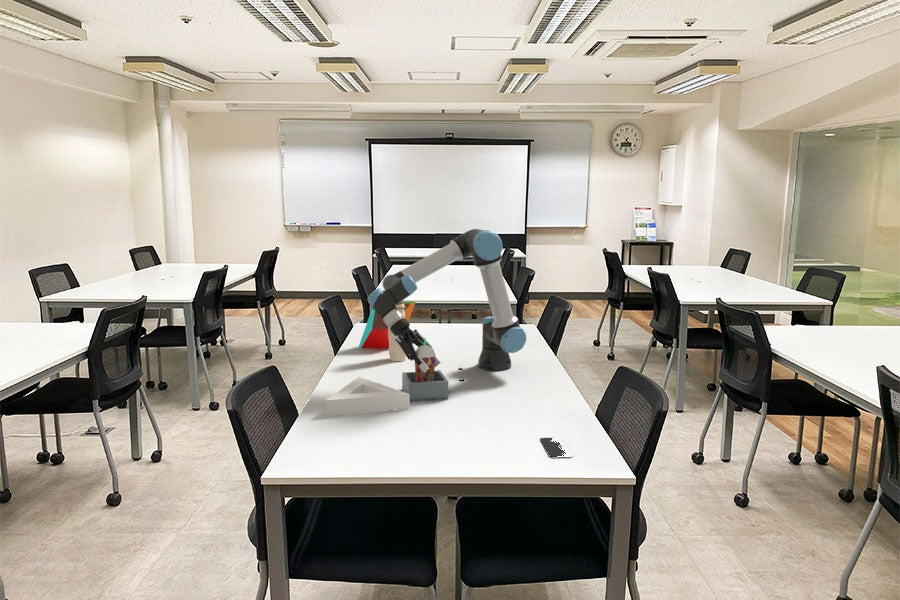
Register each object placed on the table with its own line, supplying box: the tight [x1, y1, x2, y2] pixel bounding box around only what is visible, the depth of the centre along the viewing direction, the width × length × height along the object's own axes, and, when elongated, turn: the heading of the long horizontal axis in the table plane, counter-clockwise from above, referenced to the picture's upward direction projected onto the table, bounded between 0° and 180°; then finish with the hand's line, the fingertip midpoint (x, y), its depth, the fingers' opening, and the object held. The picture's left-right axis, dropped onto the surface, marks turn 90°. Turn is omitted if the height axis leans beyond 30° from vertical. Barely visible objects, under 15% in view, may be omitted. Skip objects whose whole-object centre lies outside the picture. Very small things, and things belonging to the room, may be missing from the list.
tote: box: [401, 369, 449, 402], centre depth 247 cm, size 15×15×7 cm
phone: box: [539, 437, 566, 457], centre depth 197 cm, size 7×1×15 cm
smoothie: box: [414, 337, 436, 382], centre depth 246 cm, size 8×8×20 cm
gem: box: [358, 300, 416, 349], centre depth 319 cm, size 15×29×24 cm, turn 93°
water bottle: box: [388, 300, 407, 362], centre depth 296 cm, size 10×9×28 cm
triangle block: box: [325, 376, 410, 417], centre depth 239 cm, size 30×26×6 cm
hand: (432, 367), depth 245 cm, fingers closed on smoothie, 8 cm apart
